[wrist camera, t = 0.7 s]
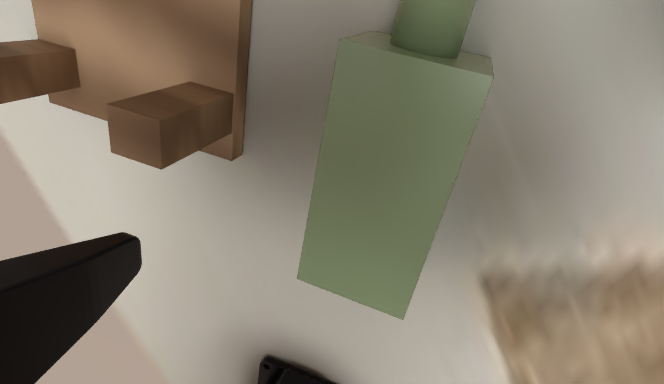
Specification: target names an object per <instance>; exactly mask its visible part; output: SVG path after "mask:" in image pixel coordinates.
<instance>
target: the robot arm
mask: <svg viewBox="0 0 664 384" xmlns="http://www.w3.org/2000/svg"><path fill="white" fill-rule="evenodd" d="M141 265H142V258H141V244H140V240H139V238H137V237H136V236H133V235H131V234H128V233H124V232H121V233H117V234H112V235H108V236H104V237H100V238H95V239H91V240H87V241H83V242H78V243H74V244H70V245H66V246H61V247H57V248H53V249H49V250H44V251H40V252H36V253H32V254H28V255H23V256H19V257H15V258H10V259H6V260H2V261H0V384H35V383H36V382H37V381H38V380H39V379H40V377H41V376H43V374H45V373H46V372H47V371H48V370H49V369H50V368H51V367H52V366H53V365H54V364H55V363H56V362H57V361H58V360H59V359H60V358H61V357H62V356H63V355H64V354H65V353H66V352H67V351H68V350H69V349H70V348H71V347H72V346H73V345H74V344H75V343H76V342H77V341H78V340H79V339H80V338H81V337H82V336H83V335H84V334H85V333H86V332H87V331H88V330H89V329H90V328H91V327H92V326H93V325H94V324H95V323H96V322H97V321H98V320H99V319H100V317H101V316H102V315H103V314H104V313H105V312H106V310H107V309H108V308H109V307H110V306H111V305H112V303H113V302H114V301H115V300H116V299H117V297H118V296H119V295H120V294H121V293H122V291H123V290H124V289H125V288H126V287H127V286H128V284H129V283H130V282H131V281H132V280H133V278H134V277H135V276H136V275H137V274H138V272H139V270H140V268H141ZM258 384H330V383H328V382H326V381H323V380H321V379H319V378H317V377H314V376H312V375H310V374H307V373H305V372H303V371H300V370H298V369H296V368H293V367H291V366H289V365H286V364H284V363H282V362H279V361H277V360H275V359H273V358H270V357H264V358H263V359H262V361H261V363H260V369H259V377H258Z"/></svg>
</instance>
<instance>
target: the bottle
mask: <svg viewBox="0 0 664 384" xmlns="http://www.w3.org/2000/svg"><path fill="white" fill-rule="evenodd" d="M475 1H476V0H400V4H399V8H398V13H397V17H396V21H395V25H394V29H393V34H392V35H390V34H385V33H381V32H377V31H371V32H367V33H363V34H359V35H356V36H352V37H348V38H344V39H340V40H339V45H338V51H337V56H336V62H335V68H334V73H333V79H332V84H331V90H330V96H329V101H328V107H327V112H326V118H325V124H324V129H323V135H322V141H321V146H320V152H319V157H318V163H317V169H316V174H315V180H314V185H313V191H312V197H311V202H310V208H309V213H308V219H307V225H306V230H305V236H304V242H303V247H302V253H301V258H300V264H299V270H298V275H297V279H299V280H301V281H304V282H307V283H309V284H312V285H314V286H317V287H319V288H322V289H325V290H327V291H330V292H332V293H335V294H338V295H340V296H343V297H345V298H348V299H350V300H353V301H356V302H358V303H361V304H363V305H366V306H369V307H371V308H374V309H376V310H379V311H381V312H384V313H387V314H389V315H392V316H394V317H397V318H400V319H402V320H403V319H404V316H405V313H406V311H407V308H408V305H409V303H410V300H411V297H412V295H413V292H414V289H415V287H416V284H417V281H418V278H419V276H420V273H421V270H422V268H423V265H424V262H425V260H426V257H427V254H428V252H429V249H430V246H431V244H432V241H433V238H434V236H435V233H436V230H437V228H438V225H439V222H440V220H441V217H442V214H443V212H444V209H445V206H446V204H447V201H448V198H449V196H450V193H451V190H452V188H453V185H454V182H455V179H456V177H457V174H458V171H459V169H460V166H461V163H462V161H463V158H464V155H465V153H466V150H467V147H468V145H469V142H470V139H471V137H472V134H473V131H474V129H475V126H476V123H477V121H478V118H479V115H480V113H481V110H482V107H483V105H484V102H485V99H486V97H487V94H488V91H489V89H490V86H491V83H492V80H493V78H494V75H493V69H492V62H491V58H488V57H484V56H480V55H475V54H471V53H467V52H463V51H459V50H460V47H461V44H462V41H463V38H464V35H465V32H466V29H467V25H468V22H469V19H470V16H471V13H472V10H473V7H474V4H475Z"/></svg>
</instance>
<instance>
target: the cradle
mask: <svg viewBox="0 0 664 384" xmlns="http://www.w3.org/2000/svg"><path fill="white" fill-rule="evenodd" d="M31 1H32V6H33V12H34V17H35V23H36V29H37V34H38V39H37V40H25V41H12V42H0V104H3V103H7V102H12V101H17V100H22V99H26V98H31V97H36V96H41V95H46V94H48V96H49V101H50V103H53V104H56V105H59V106H63V107H66V108H69V109H72V110H75V111H78V112H81V113H84V114H87V115H91V116H94V117H97V118H100V119H103V120H106V121H108V127H109V136H110V146H111V152H112V153H115V154H118V155H121V156H123V157H126V158H129V159H132V160H135V161H138V162H141V163H144V164H147V165H150V166H153V167H156V168H159V169H161V170H162V169H163V168H165V167H167V166H169V165H171V164H173V163H175V162H177V161H179V160H181V159H183V158H185V157H187V156H189V155H190V154H192V153H194V152H196V151H198V150H199V151H202V152H206V153H209V154H212V155H215V156H218V157H221V158H224V159H227V160H230V161H233V160H234V159H236V158H237V157H239V156H241V155H242V147H243V132H244V116H245V101H246V86H247V71H248V55H249V40H250V25H251V9H252V0H31Z"/></svg>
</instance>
